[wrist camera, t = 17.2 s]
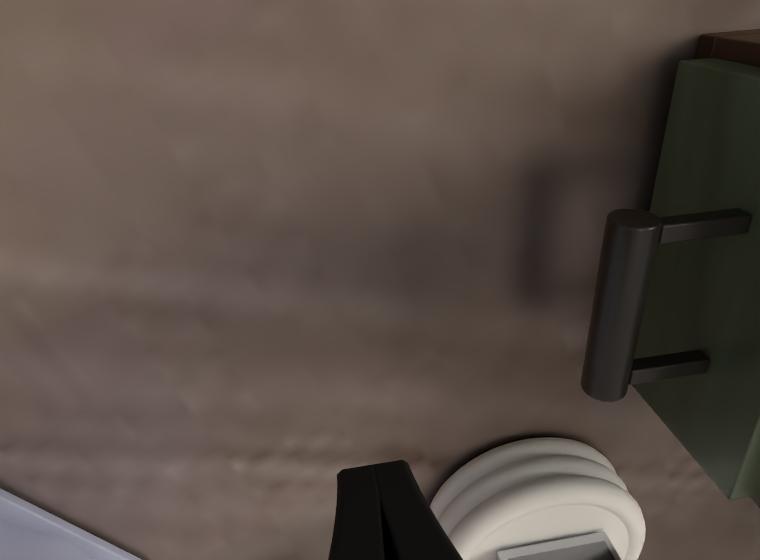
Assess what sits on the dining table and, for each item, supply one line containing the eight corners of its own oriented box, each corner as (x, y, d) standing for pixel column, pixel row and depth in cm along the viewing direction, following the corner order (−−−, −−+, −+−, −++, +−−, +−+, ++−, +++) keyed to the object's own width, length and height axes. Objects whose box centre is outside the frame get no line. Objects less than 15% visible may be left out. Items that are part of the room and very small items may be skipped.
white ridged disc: (620, 412, 26) (665, 470, 23) (604, 543, 31) (638, 605, 28) (413, 455, 26) (432, 521, 23) (430, 583, 31) (447, 650, 28)
